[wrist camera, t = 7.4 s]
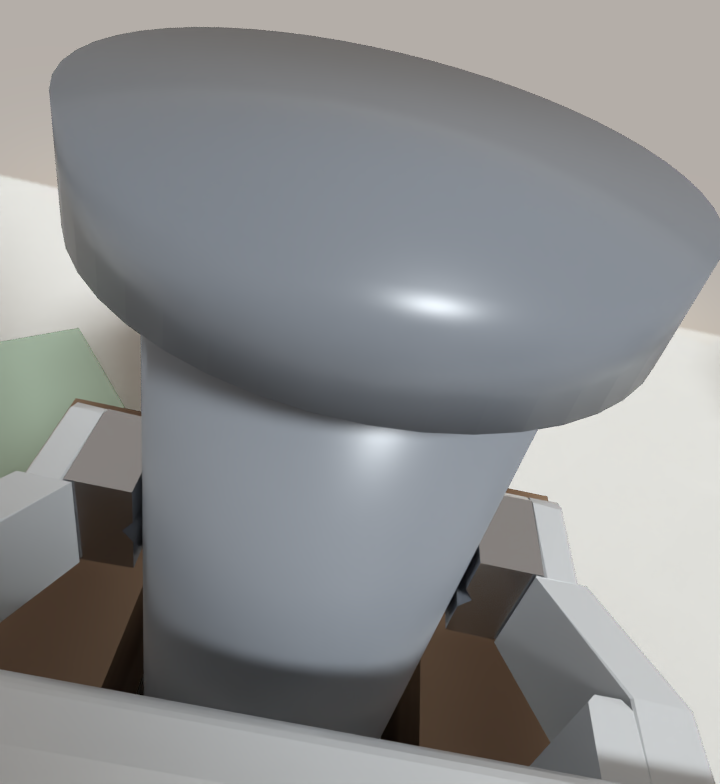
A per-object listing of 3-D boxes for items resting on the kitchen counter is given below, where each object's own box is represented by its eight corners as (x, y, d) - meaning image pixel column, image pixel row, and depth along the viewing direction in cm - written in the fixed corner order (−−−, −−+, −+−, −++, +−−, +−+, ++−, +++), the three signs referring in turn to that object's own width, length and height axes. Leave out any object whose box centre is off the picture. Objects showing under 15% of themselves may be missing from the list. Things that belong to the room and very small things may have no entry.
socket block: (-290, 1154, 10) (-432, 1143, 8) (84, 491, 21) (75, 397, 19) (572, 1272, 11) (695, 1295, 9) (501, 575, 22) (547, 496, 19)
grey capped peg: (73, 705, 16) (-31, 8, 7) (297, 598, 20) (437, 43, 10) (180, 1001, 12) (285, 398, 3) (431, 804, 16) (844, 242, 6)
